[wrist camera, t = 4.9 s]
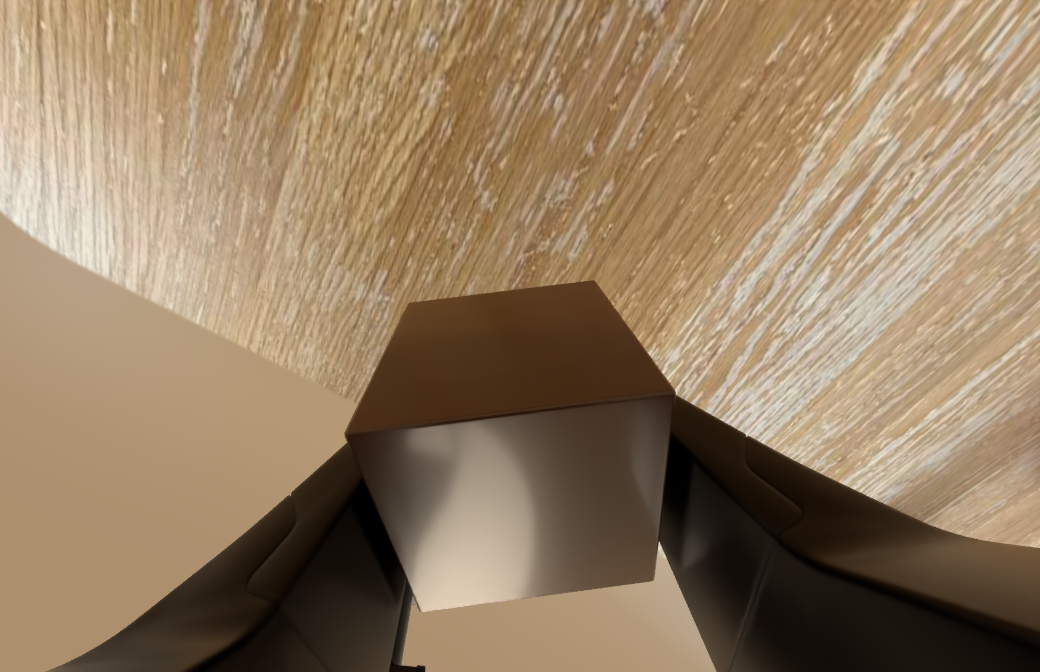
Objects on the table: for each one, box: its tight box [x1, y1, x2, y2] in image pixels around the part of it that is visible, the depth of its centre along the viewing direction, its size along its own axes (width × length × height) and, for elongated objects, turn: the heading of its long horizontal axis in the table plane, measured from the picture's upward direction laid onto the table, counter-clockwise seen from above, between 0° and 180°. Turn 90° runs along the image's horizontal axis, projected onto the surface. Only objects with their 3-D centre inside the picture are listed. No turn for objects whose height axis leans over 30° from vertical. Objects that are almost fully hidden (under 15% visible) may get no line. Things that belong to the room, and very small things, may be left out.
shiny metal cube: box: [345, 280, 676, 612], centre depth 8 cm, size 4×4×4 cm
